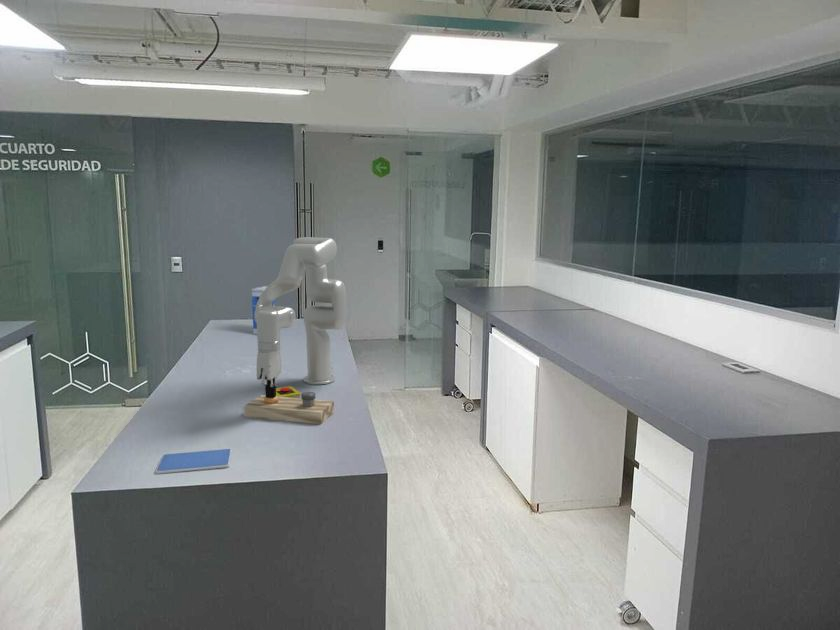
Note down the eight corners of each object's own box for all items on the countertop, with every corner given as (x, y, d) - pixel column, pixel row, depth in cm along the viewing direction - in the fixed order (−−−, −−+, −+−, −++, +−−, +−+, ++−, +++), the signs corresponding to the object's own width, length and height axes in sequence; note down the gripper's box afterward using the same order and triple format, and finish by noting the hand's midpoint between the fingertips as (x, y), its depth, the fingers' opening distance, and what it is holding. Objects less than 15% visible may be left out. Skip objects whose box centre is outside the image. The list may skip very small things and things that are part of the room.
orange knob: (268, 409, 216) (267, 394, 215) (280, 410, 215) (280, 395, 214) (262, 413, 211) (261, 398, 210) (274, 415, 210) (274, 399, 209)
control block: (261, 405, 220) (261, 395, 220) (334, 412, 214) (334, 401, 213) (244, 416, 209) (244, 405, 208) (321, 423, 203) (320, 412, 202)
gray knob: (305, 406, 212) (304, 391, 211) (317, 407, 211) (317, 392, 210) (299, 410, 208) (298, 395, 207) (312, 412, 207) (312, 396, 206)
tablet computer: (154, 476, 164) (154, 471, 164) (162, 457, 176) (162, 453, 176) (229, 469, 168) (229, 465, 168) (232, 452, 181) (232, 447, 180)
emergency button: (278, 395, 220) (265, 385, 232) (279, 407, 221) (266, 396, 233) (303, 391, 225) (289, 381, 237) (303, 402, 226) (289, 392, 238)
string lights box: (265, 335, 338) (263, 289, 334) (252, 334, 340) (250, 288, 335) (276, 330, 351) (274, 286, 346) (263, 329, 353) (262, 285, 348)
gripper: (269, 340, 217) (270, 390, 220) (248, 350, 202) (250, 402, 205) (288, 341, 215) (290, 391, 218) (268, 351, 201) (270, 404, 204)
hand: (270, 396), depth 212 cm, fingers closed
